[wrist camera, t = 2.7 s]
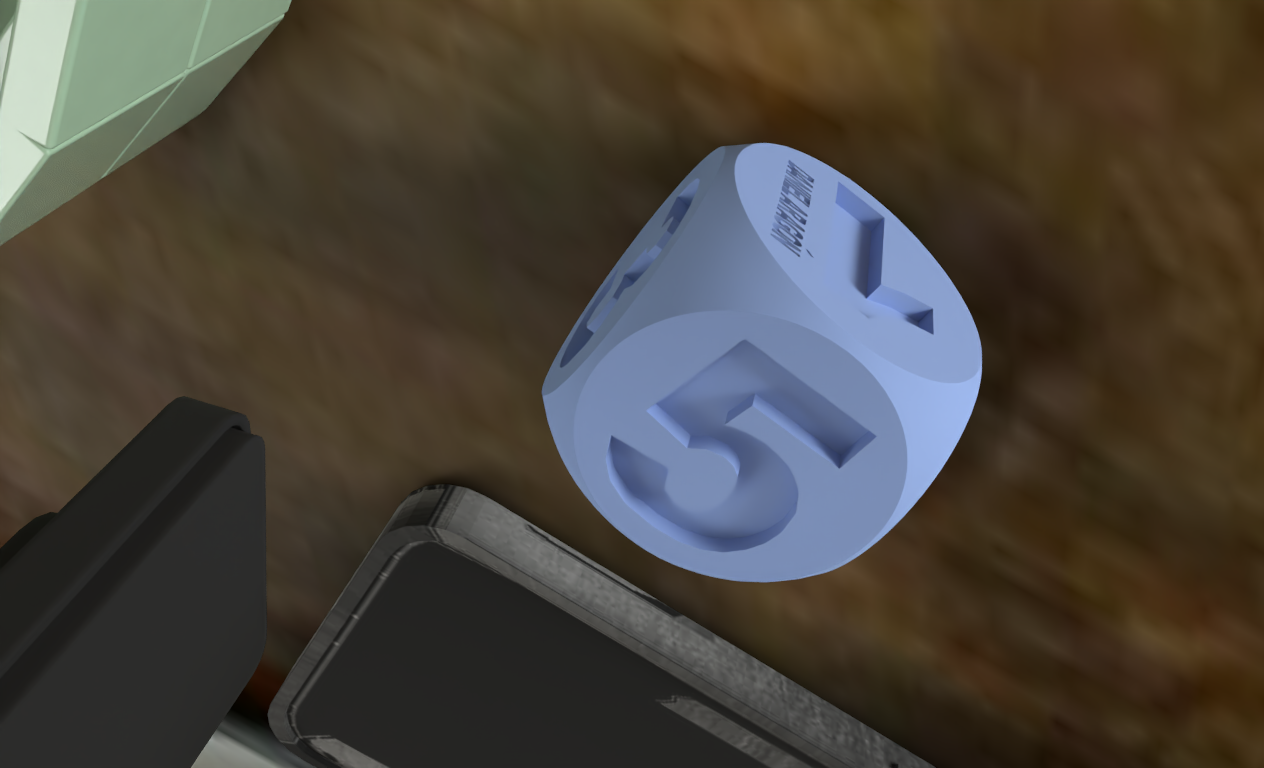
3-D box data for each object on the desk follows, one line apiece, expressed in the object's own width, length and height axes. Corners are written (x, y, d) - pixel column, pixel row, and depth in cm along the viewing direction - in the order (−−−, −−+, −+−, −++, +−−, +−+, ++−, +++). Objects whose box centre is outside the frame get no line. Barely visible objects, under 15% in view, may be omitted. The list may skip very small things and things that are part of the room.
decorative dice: (980, 278, 15) (998, 453, 12) (791, 450, 17) (762, 636, 14) (749, 95, 14) (701, 228, 11) (582, 299, 17) (501, 459, 13)
